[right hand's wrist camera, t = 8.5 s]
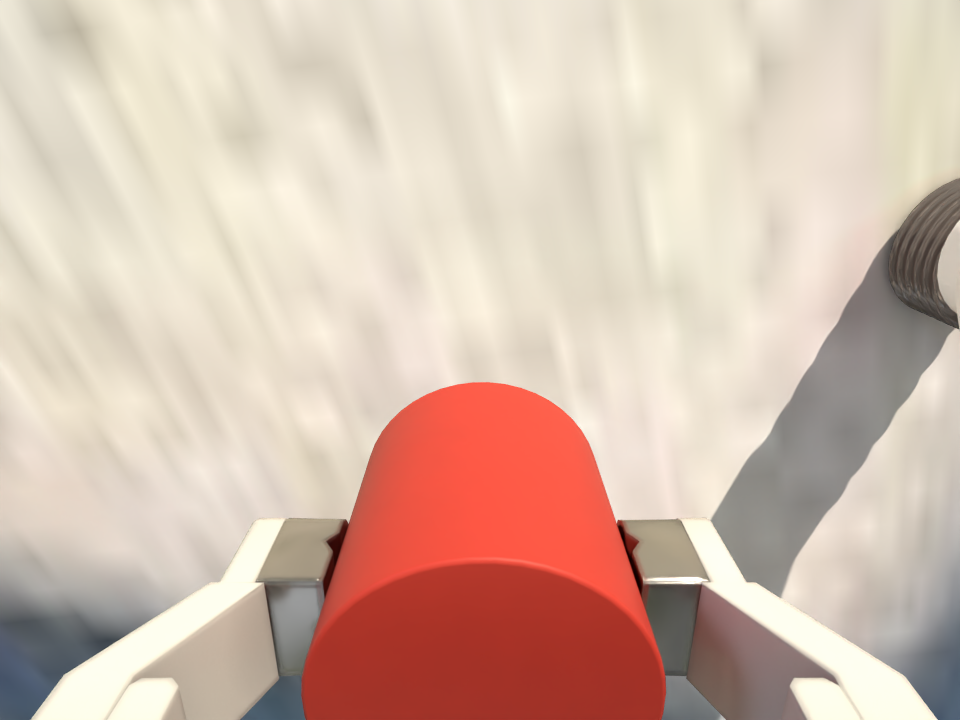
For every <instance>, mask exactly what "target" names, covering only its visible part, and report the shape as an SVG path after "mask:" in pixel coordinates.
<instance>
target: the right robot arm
mask: <svg viewBox="0 0 960 720" xmlns="http://www.w3.org/2000/svg"><path fill="white" fill-rule="evenodd" d="M348 525H349V524H348V522H347V520H346V519H307V518H289V519H286V518H259V519H257V520H255V521H254V522H253V523H252V525H251V527H250V529H249V531H248V532H247V534H246V536H245V538H244V539H243V541H242V543H241V545H240V547H239V548H238V550H237V552H236V554H235V555H234V557H233V559H232V561H231V563H230V564H229V566H228V568H227V570H226V571H225V573H224V575H223V577H222V579H221V580H220V582H212V583H209V584H207V585H206V586H204V587H202V588H201V589H199V590H198V591H196V592H195V593H193V594H191V595H190V596H188V597H187V598H185V599H184V600H182V601H180V602H179V603H177V604H176V605H174V606H172V607H171V608H169V609H168V610H166V611H165V612H163V613H161V614H160V615H158V616H157V617H155V618H153V619H152V620H150V621H149V622H147V623H146V624H144V625H142V626H141V627H139V628H138V629H136V630H134V631H133V632H131V633H130V634H128V635H127V636H125V637H123V638H122V639H120V640H119V641H117V642H116V643H114V644H112V645H111V646H109V647H108V648H106V649H104V650H103V651H101V652H100V653H98V654H97V655H95V656H93V657H92V658H90V659H89V660H87V661H85V662H84V663H82V664H81V665H79V666H78V667H76V668H74V669H73V670H71V671H70V672H68V673H67V674H65V675H64V676H63V677H62V679H61V680H60V681H59V683H58V684H57V685H56V687H55V688H54V689H53V691H52V692H51V693H50V695H49V696H48V697H47V699H46V700H45V701H44V703H43V704H42V705H41V707H40V708H39V709H38V711H37V712H36V713H35V715H34V716H33V717H32V719H31V720H240V719H241V718H242V717H243V716H244V715H245V714H246V713H247V712H248V711H249V710H250V709H251V708H252V707H253V706H254V705H255V704H256V703H257V701H258V700H259V699H260V698H261V697H262V696H263V695H264V694H265V693H266V692H267V691H268V690H269V689H270V688H271V687H272V686H273V685H274V684H275V683H276V682H277V681H278V680H279V676H292V675H303V670H304V665H305V660H306V657H307V654H308V651H309V647H310V644H311V641H312V638H313V635H314V632H315V629H316V625H317V622H318V619H319V616H320V613H321V610H322V607H323V603H324V600H325V597H326V594H327V591H328V588H329V585H330V581H331V578H332V575H333V572H334V569H335V566H336V563H337V559H338V556H339V553H340V550H341V547H342V544H343V541H344V537H345V534H346V531H347V528H348ZM617 526H618V529H619V532H620V535H621V538H622V541H623V544H624V547H625V550H626V553H627V556H628V559H629V562H630V565H631V568H632V571H633V574H634V577H635V580H636V583H637V586H638V589H639V592H640V595H641V598H642V601H643V604H644V607H645V610H646V613H647V616H648V619H649V622H650V625H651V628H652V631H653V634H654V637H655V640H656V643H657V646H658V649H659V652H660V655H661V659H662V663H663V667H664V672H665V675H673V676H687V678H686V679H687V680H688V681H689V682H690V683H691V684H692V685H693V686H694V687H695V688H696V689H697V690H698V691H699V692H700V693H701V694H702V695H703V696H704V697H705V698H706V699H707V700H708V701H709V702H710V703H711V704H712V706H713V707H714V708H715V709H716V710H717V711H718V712H719V713H720V714H721V715H722V716H723V717H724V718H725V719H726V720H937V719H936V717H935V716H934V715H933V713H932V712H931V711H930V709H929V708H928V707H927V705H926V704H925V703H924V701H923V700H922V699H921V697H920V696H919V695H918V693H917V692H916V691H915V690H914V688H913V687H912V686H911V684H910V683H909V682H908V680H907V679H906V678H905V676H903V675H902V674H900V673H899V672H897V671H896V670H894V669H892V668H891V667H889V666H888V665H886V664H884V663H883V662H881V661H880V660H878V659H876V658H875V657H873V656H872V655H870V654H868V653H867V652H865V651H864V650H862V649H861V648H859V647H857V646H856V645H854V644H853V643H851V642H849V641H848V640H846V639H845V638H843V637H841V636H840V635H838V634H837V633H835V632H833V631H832V630H830V629H829V628H827V627H826V626H824V625H822V624H821V623H819V622H818V621H816V620H814V619H813V618H811V617H810V616H808V615H806V614H805V613H803V612H802V611H800V610H799V609H797V608H795V607H794V606H792V605H791V604H789V603H787V602H786V601H784V600H783V599H781V598H779V597H778V596H776V595H775V594H773V593H771V592H770V591H768V590H767V589H765V588H764V587H762V586H760V585H759V584H757V583H754V582H746V581H745V579H744V577H743V575H742V574H741V572H740V570H739V569H738V567H737V565H736V563H735V562H734V560H733V558H732V556H731V555H730V553H729V551H728V550H727V548H726V546H725V544H724V543H723V541H722V539H721V538H720V536H719V534H718V532H717V531H716V529H715V527H714V526H713V524H712V522H711V521H710V520H709V519H707V518H678V519H668V520H618V521H617Z"/></svg>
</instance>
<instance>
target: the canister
mask: <svg viewBox="0 0 960 720" xmlns="http://www.w3.org/2000/svg"><path fill="white" fill-rule="evenodd" d="M301 696H302V702H303V708H304V715H305V718H306V720H661V718H662V715H663V710H664V703H665V696H666V681H665V672H664V667H663V663H662V659H661V655H660V652H659V649H658V646H657V643H656V640H655V637H654V634H653V631H652V628H651V625H650V622H649V619H648V616H647V613H646V610H645V607H644V604H643V601H642V598H641V595H640V592H639V589H638V586H637V583H636V580H635V577H634V574H633V571H632V568H631V565H630V562H629V559H628V556H627V553H626V550H625V547H624V544H623V541H622V538H621V535H620V532H619V529H618V526H617V523H616V520H615V518H614V515H613V512H612V509H611V506H610V503H609V500H608V497H607V494H606V491H605V488H604V485H603V482H602V479H601V476H600V473H599V470H598V467H597V464H596V461H595V458H594V455H593V452H592V450H591V447H590V445H589V442H588V441H587V439H586V437H585V436H584V434H583V432H582V431H581V429H580V428H579V427H578V426H577V424H576V423H575V422H574V421H573V419H572V418H570V417H569V416H568V415H567V414H566V413H565V412H564V411H563V410H562V409H560V408H559V407H558V406H556V405H555V404H553V403H552V402H551V401H549V400H547V399H545V398H543V397H541V396H540V395H538V394H536V393H533V392H530V391H528V390H525V389H522V388H519V387H515V386H510V385H506V384H499V383H490V382H480V383H466V384H458V385H454V386H450V387H446V388H442V389H439V390H437V391H434V392H432V393H429V394H427V395H425V396H423V397H421V398H419V399H418V400H416V401H414V402H412V403H411V404H410V405H408V406H407V407H406V408H404V409H403V410H401V411H400V412H399V413H398V414H397V415H396V416H395V417H394V418H393V419H392V420H391V421H390V422H389V424H388V425H387V426H386V427H385V429H384V430H383V431H382V433H381V435H380V436H379V438H378V440H377V442H376V443H375V445H374V448H373V451H372V453H371V456H370V459H369V462H368V465H367V468H366V471H365V475H364V478H363V481H362V484H361V487H360V490H359V493H358V497H357V500H356V503H355V506H354V509H353V512H352V515H351V519H350V522H349V525H348V528H347V531H346V534H345V537H344V541H343V544H342V547H341V550H340V553H339V556H338V559H337V563H336V566H335V569H334V572H333V575H332V578H331V581H330V585H329V588H328V591H327V594H326V597H325V600H324V603H323V607H322V610H321V613H320V616H319V619H318V622H317V625H316V629H315V632H314V635H313V638H312V641H311V644H310V647H309V651H308V654H307V657H306V660H305V665H304V670H303V675H302V693H301Z"/></svg>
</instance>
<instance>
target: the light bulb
mask: <svg viewBox="0 0 960 720" xmlns="http://www.w3.org/2000/svg"><path fill="white" fill-rule="evenodd" d="M889 276H890V282H891V285H892V287H893V289H894V291H895V293H896V295H897V296H898V298H899V299H900V300H901V301H903V302H904V303H905V304H906V305H907V306H909V307H911V308H913V309H916V310H918V311H920V312H922V313H925V314H926V315H928V316H930V317H934V318H935V319H937V320H939V321H942V322H944V323H946V324H948V325H951V326H953V327H955V328H957V329H959V330H960V179H956V180H954V181H952V182H949V183H947V184H945V185H943V186H941V187H940V188H938V189H937V190H935V191H934V192H932V193H931V194H930V195H928V196H927V197H926V198H925V199H924V200H922V201H921V202H920V203H919V204H918V205H917V206H916V207H915V208H914V210H913V211H912V212H911V213H910V214H909V216H908V217H907V219H906V220H905V221H904V223H903V224H902V226H901V228H900V229H899V231H898V233H897V236H896V238H895V240H894V243H893V245H892V249H891V253H890V258H889Z"/></svg>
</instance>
